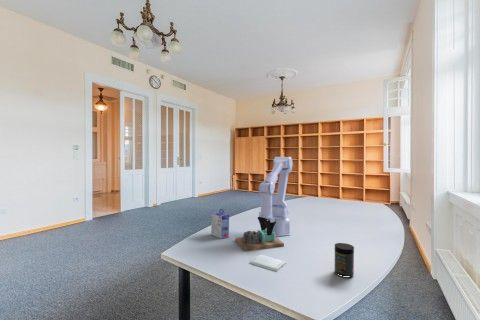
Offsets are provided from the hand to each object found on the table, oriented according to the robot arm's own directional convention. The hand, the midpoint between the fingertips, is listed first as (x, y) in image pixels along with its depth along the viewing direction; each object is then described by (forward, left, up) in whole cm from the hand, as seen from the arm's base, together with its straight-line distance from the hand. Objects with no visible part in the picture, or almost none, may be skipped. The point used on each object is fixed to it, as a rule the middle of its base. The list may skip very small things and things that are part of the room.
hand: (266, 232), depth 123 cm
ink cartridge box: (+20, -17, -5) cm, 27 cm away
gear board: (+4, 0, -5) cm, 6 cm away
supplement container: (-14, +39, -5) cm, 42 cm away
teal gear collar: (0, 0, -3) cm, 3 cm away
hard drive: (+9, +22, -6) cm, 25 cm away
